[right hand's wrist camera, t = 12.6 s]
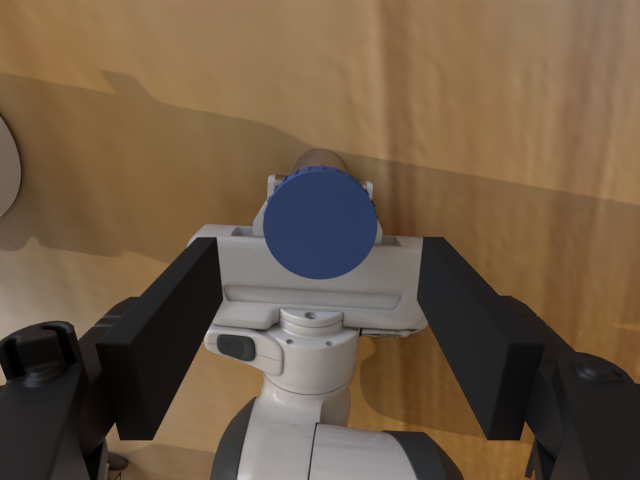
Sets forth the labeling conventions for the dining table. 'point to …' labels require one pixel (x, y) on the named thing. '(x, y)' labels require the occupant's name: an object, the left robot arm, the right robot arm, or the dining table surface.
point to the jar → (320, 160)
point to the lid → (320, 222)
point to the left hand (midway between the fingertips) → (320, 178)
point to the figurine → (115, 465)
